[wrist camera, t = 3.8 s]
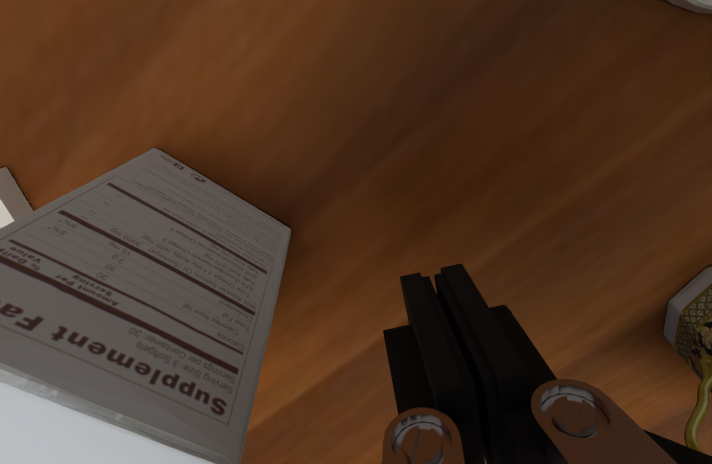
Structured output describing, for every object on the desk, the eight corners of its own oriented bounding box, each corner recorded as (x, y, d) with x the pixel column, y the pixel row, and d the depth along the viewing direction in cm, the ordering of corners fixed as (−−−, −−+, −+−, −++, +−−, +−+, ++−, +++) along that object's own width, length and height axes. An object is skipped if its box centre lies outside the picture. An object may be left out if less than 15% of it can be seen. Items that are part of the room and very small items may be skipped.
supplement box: (225, 327, 22) (104, 637, 10) (91, 260, 20) (-251, 555, 8) (298, 227, 19) (248, 480, 8) (156, 139, 17) (-192, 309, 6)
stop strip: (6, 166, 17) (-16, 174, 16) (121, 354, 22) (110, 369, 21) (-15, 171, 17) (-38, 179, 16) (104, 357, 22) (92, 373, 21)
